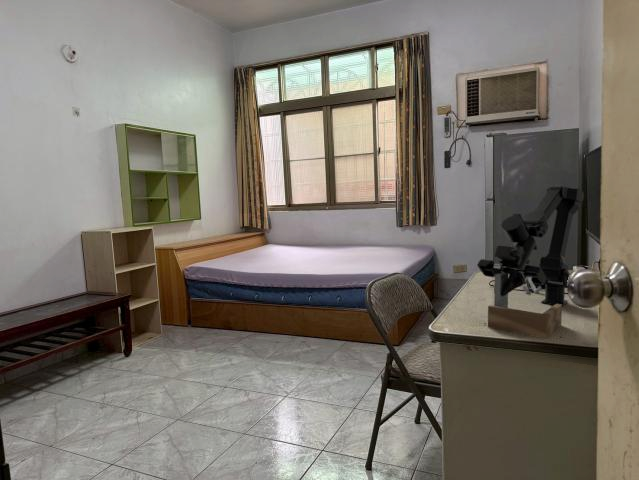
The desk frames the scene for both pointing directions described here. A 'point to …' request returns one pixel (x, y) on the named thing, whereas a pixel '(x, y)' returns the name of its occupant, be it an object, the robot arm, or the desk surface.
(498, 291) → the bracket
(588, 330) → the desk surface
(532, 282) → the toy
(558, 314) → the walls
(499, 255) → the robot arm
